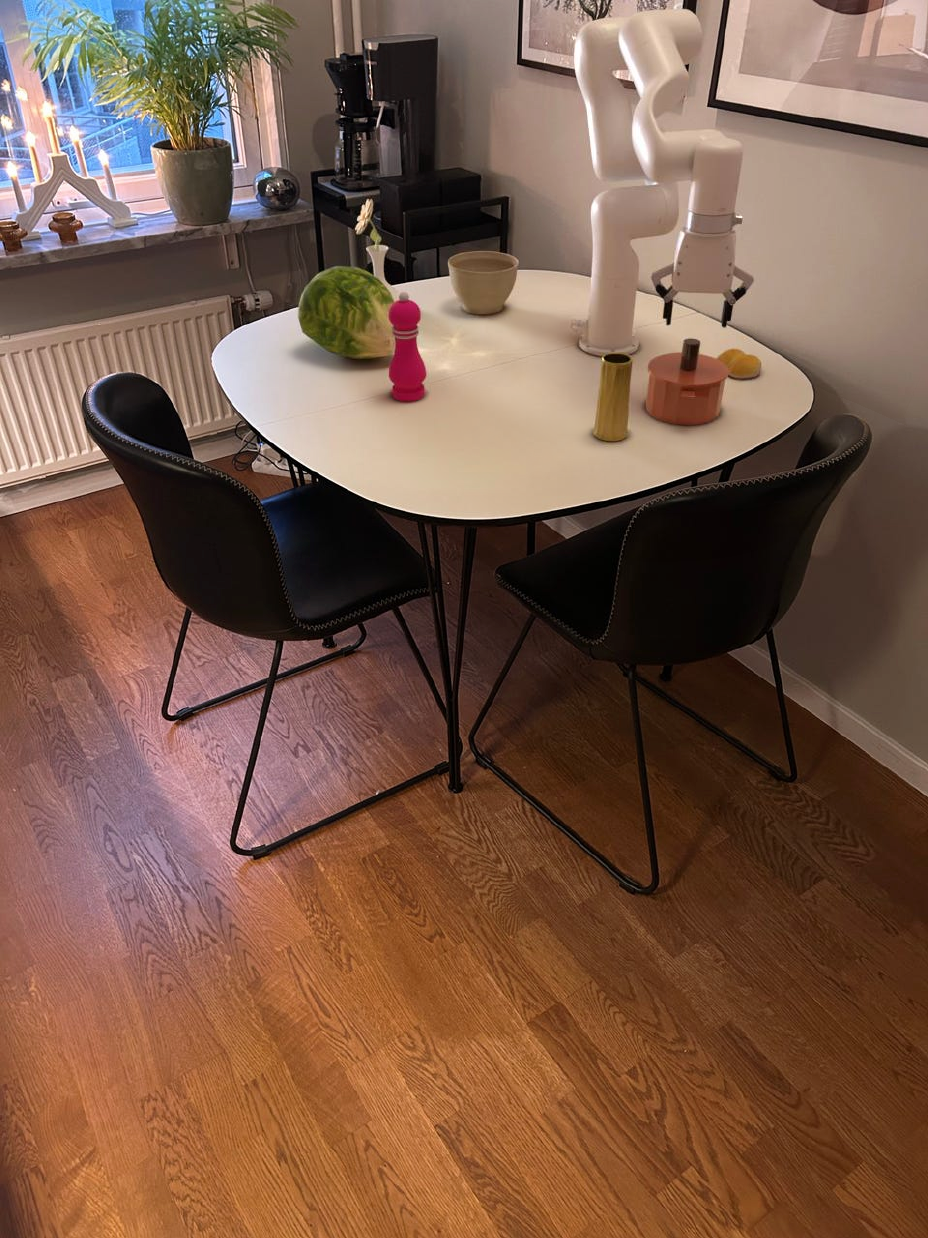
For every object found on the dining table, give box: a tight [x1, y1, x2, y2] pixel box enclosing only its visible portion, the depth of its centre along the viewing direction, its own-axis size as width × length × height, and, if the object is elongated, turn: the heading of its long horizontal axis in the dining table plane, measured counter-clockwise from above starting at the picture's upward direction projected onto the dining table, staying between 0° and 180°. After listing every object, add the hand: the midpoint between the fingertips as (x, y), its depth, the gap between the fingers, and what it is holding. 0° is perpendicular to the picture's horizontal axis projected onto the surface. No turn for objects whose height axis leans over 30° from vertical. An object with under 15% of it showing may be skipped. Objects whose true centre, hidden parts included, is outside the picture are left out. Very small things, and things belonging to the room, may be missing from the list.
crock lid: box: [646, 337, 729, 388], centre depth 169 cm, size 15×15×6 cm
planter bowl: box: [447, 250, 520, 315], centre depth 216 cm, size 16×16×11 cm
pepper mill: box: [388, 291, 427, 402], centre depth 175 cm, size 7×7×20 cm
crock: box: [645, 373, 726, 426], centre depth 173 cm, size 14×19×8 cm
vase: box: [592, 352, 634, 442], centre depth 163 cm, size 6×6×14 cm
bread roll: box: [715, 348, 762, 380], centre depth 187 cm, size 8×9×4 cm
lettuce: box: [297, 265, 395, 360], centre depth 194 cm, size 18×23×19 cm
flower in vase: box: [354, 198, 401, 302], centre depth 211 cm, size 13×11×25 cm
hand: (695, 323), depth 165 cm, fingers open, 9 cm apart
